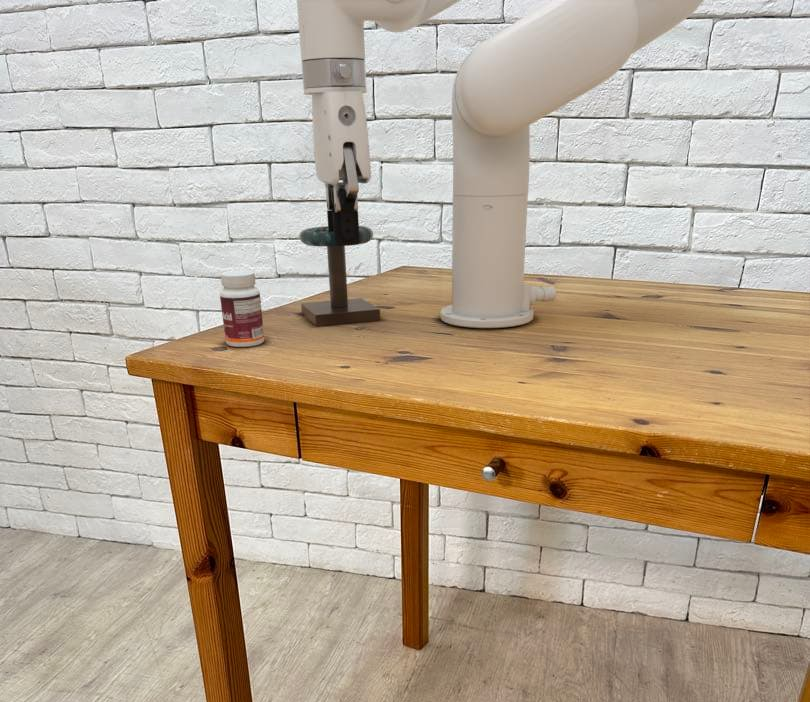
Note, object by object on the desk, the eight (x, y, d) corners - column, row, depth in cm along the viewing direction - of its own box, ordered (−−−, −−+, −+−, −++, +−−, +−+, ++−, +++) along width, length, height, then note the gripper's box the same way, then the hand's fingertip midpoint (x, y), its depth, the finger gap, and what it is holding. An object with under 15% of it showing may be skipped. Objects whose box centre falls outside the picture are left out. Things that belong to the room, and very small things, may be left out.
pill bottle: (222, 341, 96) (213, 271, 93) (259, 336, 98) (252, 268, 94) (230, 349, 93) (221, 277, 89) (269, 344, 94) (261, 273, 90)
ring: (361, 237, 108) (360, 223, 108) (381, 244, 100) (380, 229, 100) (294, 241, 106) (293, 227, 105) (309, 249, 98) (308, 233, 97)
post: (361, 308, 113) (358, 224, 108) (380, 320, 105) (376, 230, 100) (301, 313, 110) (294, 228, 105) (316, 326, 103) (309, 234, 98)
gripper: (384, 74, 86) (390, 249, 94) (347, 83, 99) (355, 236, 108) (319, 75, 84) (331, 253, 92) (290, 84, 97) (302, 239, 106)
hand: (344, 242), depth 100 cm, fingers closed on ring, 2 cm apart
